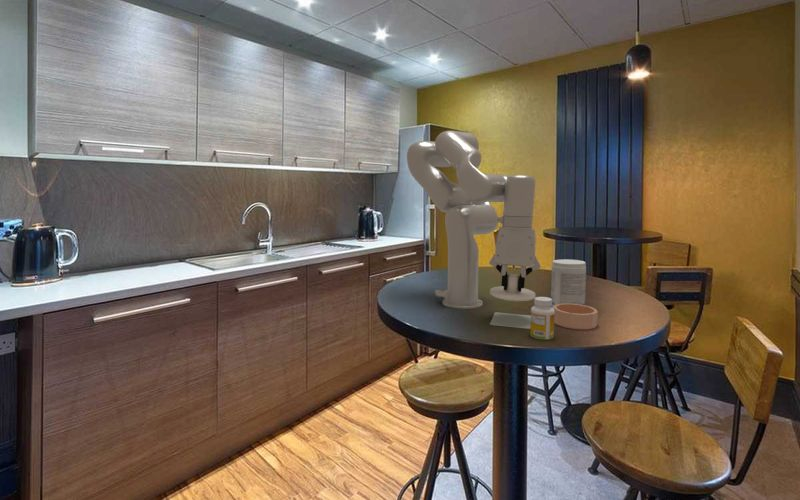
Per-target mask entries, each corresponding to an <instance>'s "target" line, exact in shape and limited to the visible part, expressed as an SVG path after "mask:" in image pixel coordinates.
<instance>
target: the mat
mask: <svg viewBox="0 0 800 500" xmlns="http://www.w3.org/2000/svg"><path fill="white" fill-rule="evenodd" d="M489 325H490V326H500V327H507V328H508V327H509V328H515V329H516V328H517V329H527V330H530V325H531V314H529V315H528V314H519V313H508V312H497V311H495V312H494V314H493V316H492V319H491V320H490V322H489Z"/></svg>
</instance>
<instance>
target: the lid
mask: <svg viewBox="0 0 800 500" xmlns="http://www.w3.org/2000/svg"><path fill="white" fill-rule="evenodd" d="M519 277H520V274H515V273H514V274H513V273H509V274H508V273H507V290H504V286H501V285H500V286H494V287H492V288H490V289H489V295H490V296H492V297H494V298H497V299H500V300H505V301H510V302H511V301H512V302H528V301H534V299H535V298H536V297H537V296H536V295H537V294H536V293H535V292H534V291H533V290H531V289H528V288H525V287H524V288H522V289H521V292H519V291H518V286H519Z"/></svg>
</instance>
